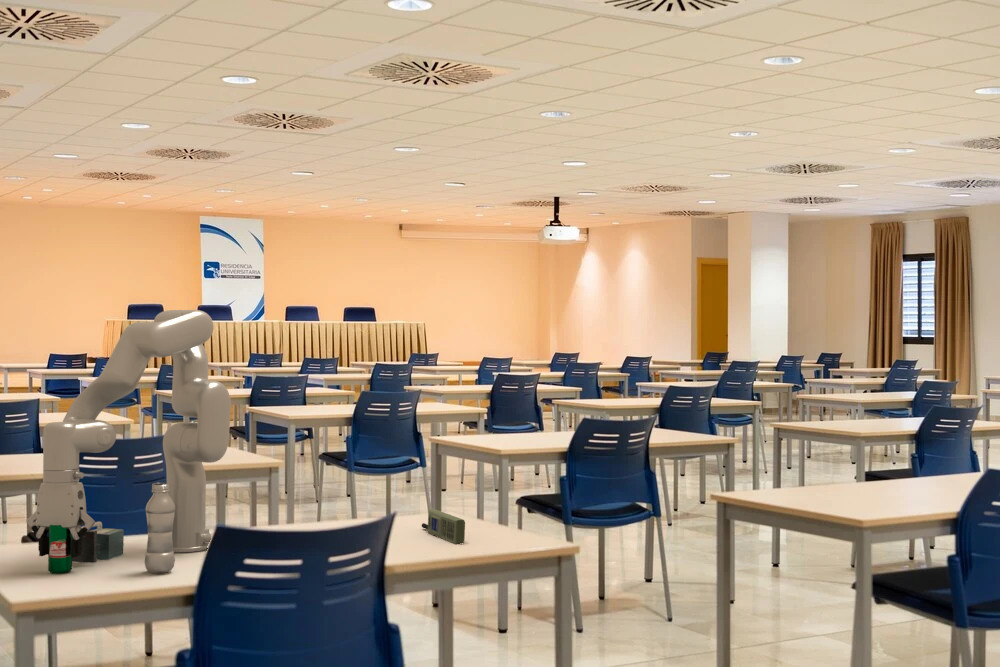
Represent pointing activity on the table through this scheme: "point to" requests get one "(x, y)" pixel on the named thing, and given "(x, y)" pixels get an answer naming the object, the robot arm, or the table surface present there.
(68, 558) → the soda can
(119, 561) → the table surface
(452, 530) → the handheld radio
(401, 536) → the table surface
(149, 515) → the plastic bottle
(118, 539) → the dark grey cube
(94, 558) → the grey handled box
